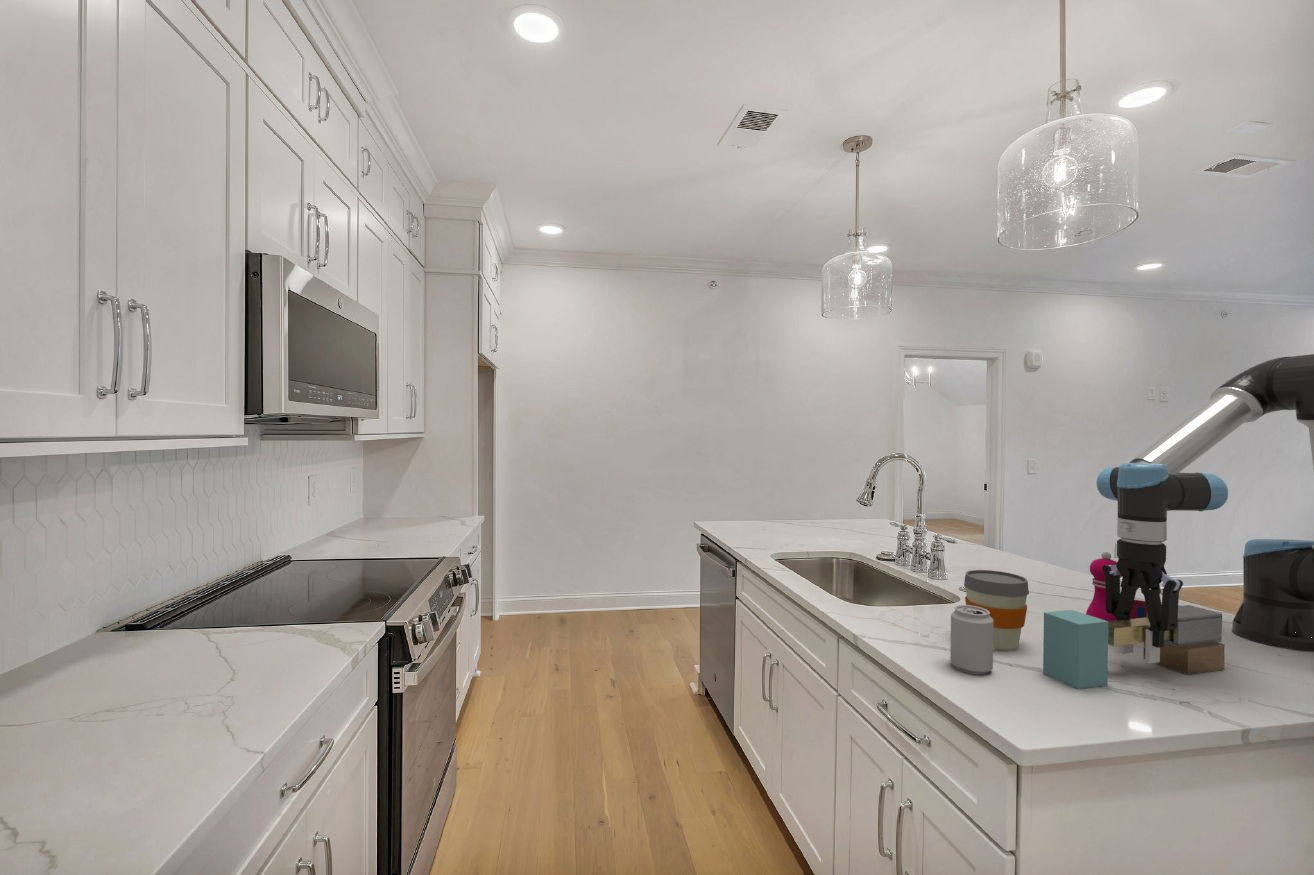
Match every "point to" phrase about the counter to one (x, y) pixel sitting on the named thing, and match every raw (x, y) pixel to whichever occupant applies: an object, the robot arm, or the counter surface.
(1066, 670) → the socket block
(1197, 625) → the sleeve stand
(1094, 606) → the pepper mill
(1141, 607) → the cup
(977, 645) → the can
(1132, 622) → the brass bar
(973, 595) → the reusable coffee cup
